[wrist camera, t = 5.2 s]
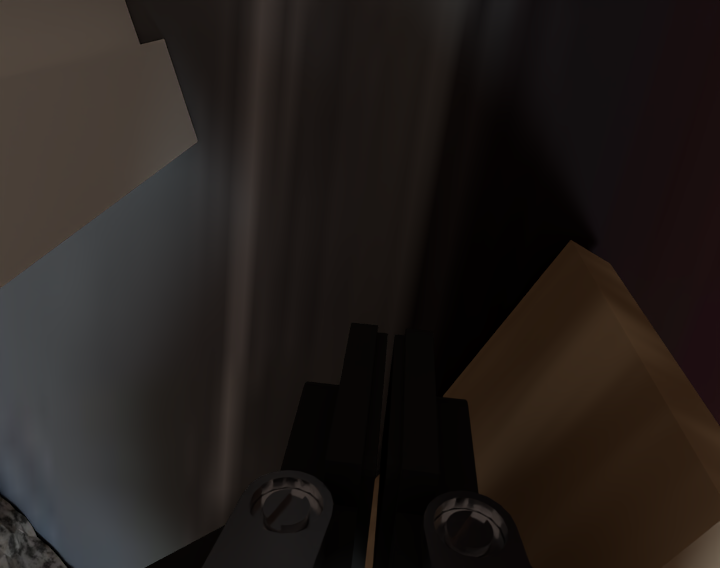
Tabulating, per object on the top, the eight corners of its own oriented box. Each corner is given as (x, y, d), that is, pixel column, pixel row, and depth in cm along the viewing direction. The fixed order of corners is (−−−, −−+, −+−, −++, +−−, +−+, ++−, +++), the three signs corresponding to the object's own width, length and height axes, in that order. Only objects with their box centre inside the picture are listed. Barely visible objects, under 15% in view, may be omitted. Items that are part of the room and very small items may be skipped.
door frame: (75, -230, 12) (-611, -647, 4) (395, 739, 26) (384, 1085, 18) (-31, -195, 12) (-846, -509, 4) (339, 741, 26) (304, 1080, 18)
